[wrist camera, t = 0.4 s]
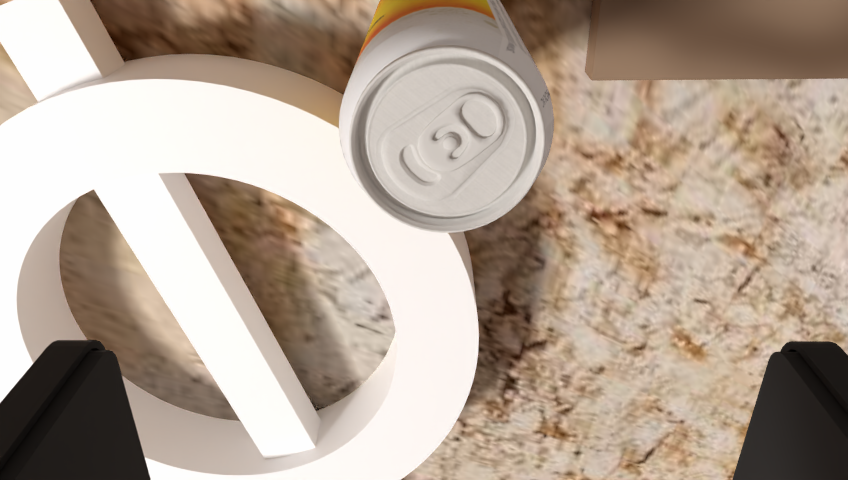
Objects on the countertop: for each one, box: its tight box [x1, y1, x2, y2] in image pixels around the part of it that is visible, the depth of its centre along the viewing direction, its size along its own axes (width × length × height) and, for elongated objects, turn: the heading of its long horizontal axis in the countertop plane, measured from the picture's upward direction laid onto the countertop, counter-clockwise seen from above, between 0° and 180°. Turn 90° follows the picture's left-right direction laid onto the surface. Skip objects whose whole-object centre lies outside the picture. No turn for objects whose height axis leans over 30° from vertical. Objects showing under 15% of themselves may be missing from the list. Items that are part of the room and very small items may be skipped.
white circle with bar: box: [0, 0, 479, 480], centre depth 36 cm, size 28×28×5 cm
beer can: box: [339, 0, 554, 233], centre depth 24 cm, size 6×6×15 cm
